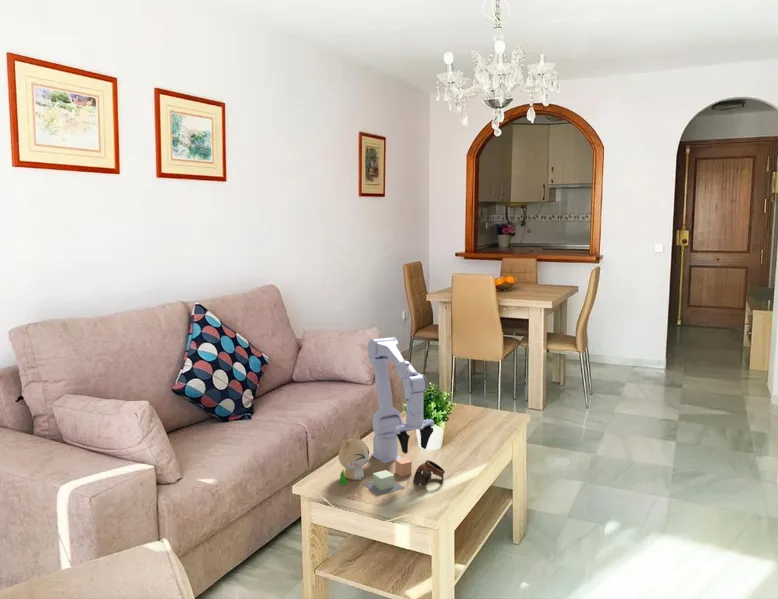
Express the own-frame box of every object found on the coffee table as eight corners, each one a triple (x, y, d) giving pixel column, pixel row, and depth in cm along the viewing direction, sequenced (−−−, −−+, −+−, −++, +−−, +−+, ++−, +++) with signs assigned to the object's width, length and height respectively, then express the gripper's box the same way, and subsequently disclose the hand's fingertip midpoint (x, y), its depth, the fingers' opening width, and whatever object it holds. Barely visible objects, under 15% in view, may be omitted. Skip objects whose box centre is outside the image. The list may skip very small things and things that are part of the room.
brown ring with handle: (413, 477, 220) (425, 456, 220) (437, 492, 218) (449, 471, 218) (406, 482, 209) (419, 460, 209) (431, 499, 206) (444, 477, 206)
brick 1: (372, 484, 212) (372, 473, 211) (386, 481, 215) (386, 469, 214) (380, 490, 208) (380, 478, 207) (394, 487, 210) (394, 475, 210)
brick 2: (395, 474, 222) (395, 460, 221) (405, 471, 224) (405, 457, 223) (401, 478, 218) (401, 464, 218) (411, 475, 221) (411, 461, 220)
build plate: (362, 485, 213) (362, 483, 213) (388, 478, 218) (388, 477, 218) (378, 496, 204) (378, 495, 204) (404, 489, 210) (404, 488, 210)
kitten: (355, 490, 209) (354, 445, 207) (328, 484, 214) (328, 440, 211) (376, 473, 222) (376, 431, 220) (351, 467, 227) (351, 426, 225)
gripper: (403, 418, 207) (402, 458, 209) (439, 410, 215) (438, 449, 217) (391, 412, 213) (391, 451, 215) (427, 404, 221) (426, 442, 223)
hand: (414, 450), depth 216 cm, fingers open, 7 cm apart
